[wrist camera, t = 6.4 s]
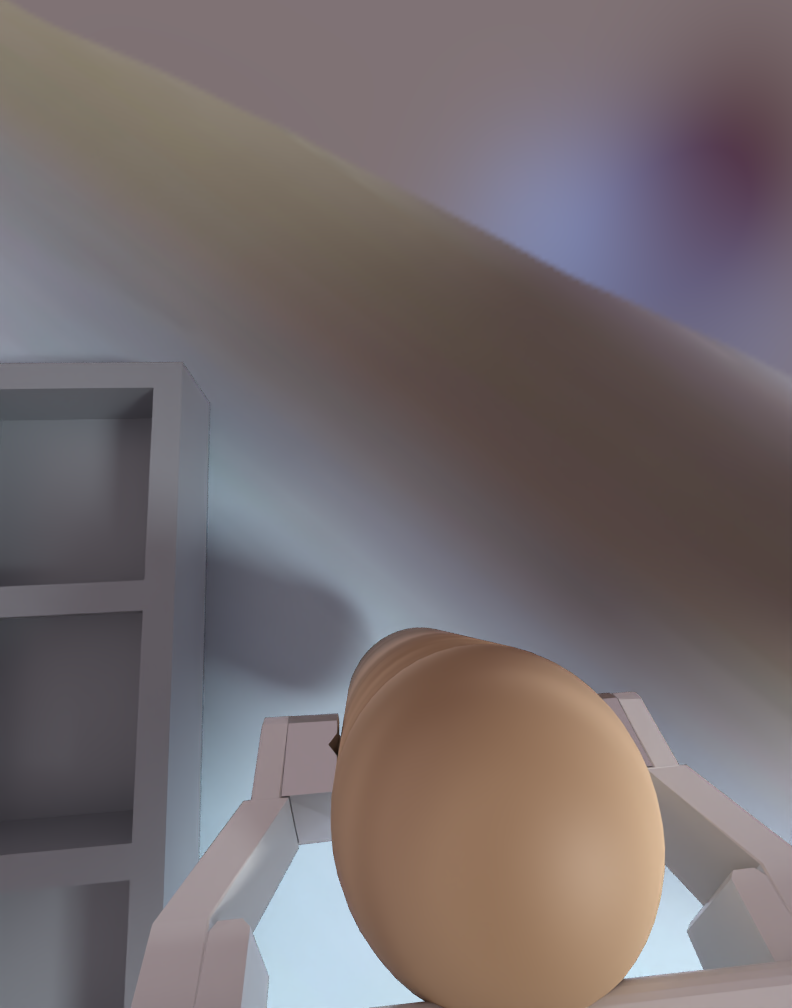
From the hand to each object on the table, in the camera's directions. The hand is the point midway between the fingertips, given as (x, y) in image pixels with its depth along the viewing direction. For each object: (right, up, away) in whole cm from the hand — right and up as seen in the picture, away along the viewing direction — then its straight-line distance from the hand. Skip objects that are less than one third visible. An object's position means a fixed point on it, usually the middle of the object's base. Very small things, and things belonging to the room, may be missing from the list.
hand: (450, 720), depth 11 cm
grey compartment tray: (-13, -3, +9) cm, 16 cm away
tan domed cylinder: (0, -2, +6) cm, 6 cm away
